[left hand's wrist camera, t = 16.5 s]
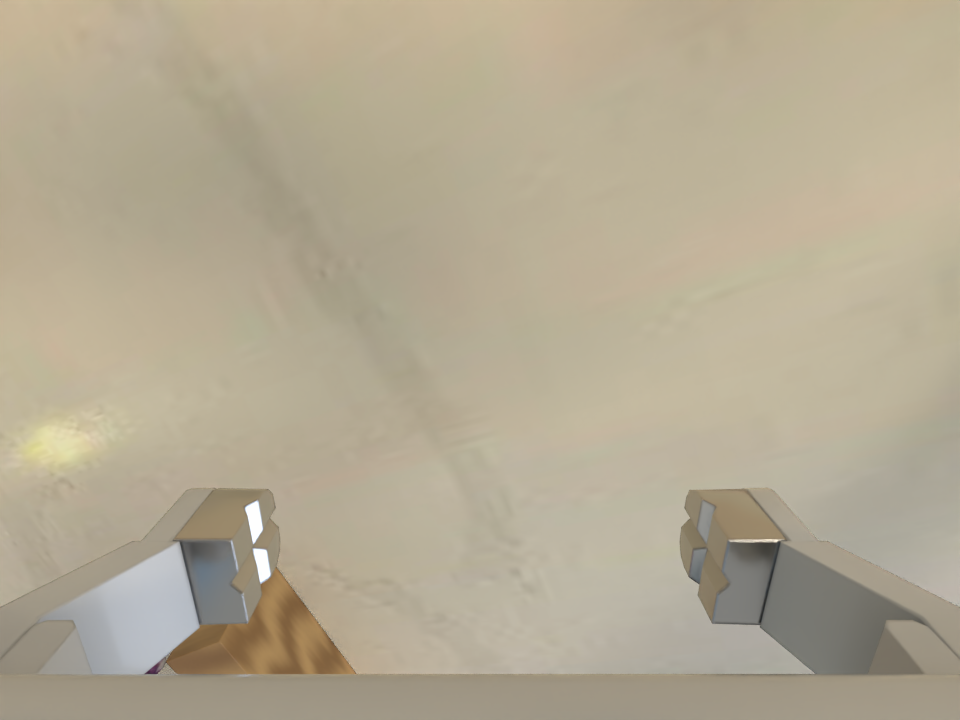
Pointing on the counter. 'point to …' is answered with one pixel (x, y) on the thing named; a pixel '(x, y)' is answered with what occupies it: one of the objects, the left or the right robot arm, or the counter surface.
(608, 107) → the counter surface
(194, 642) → the bar
